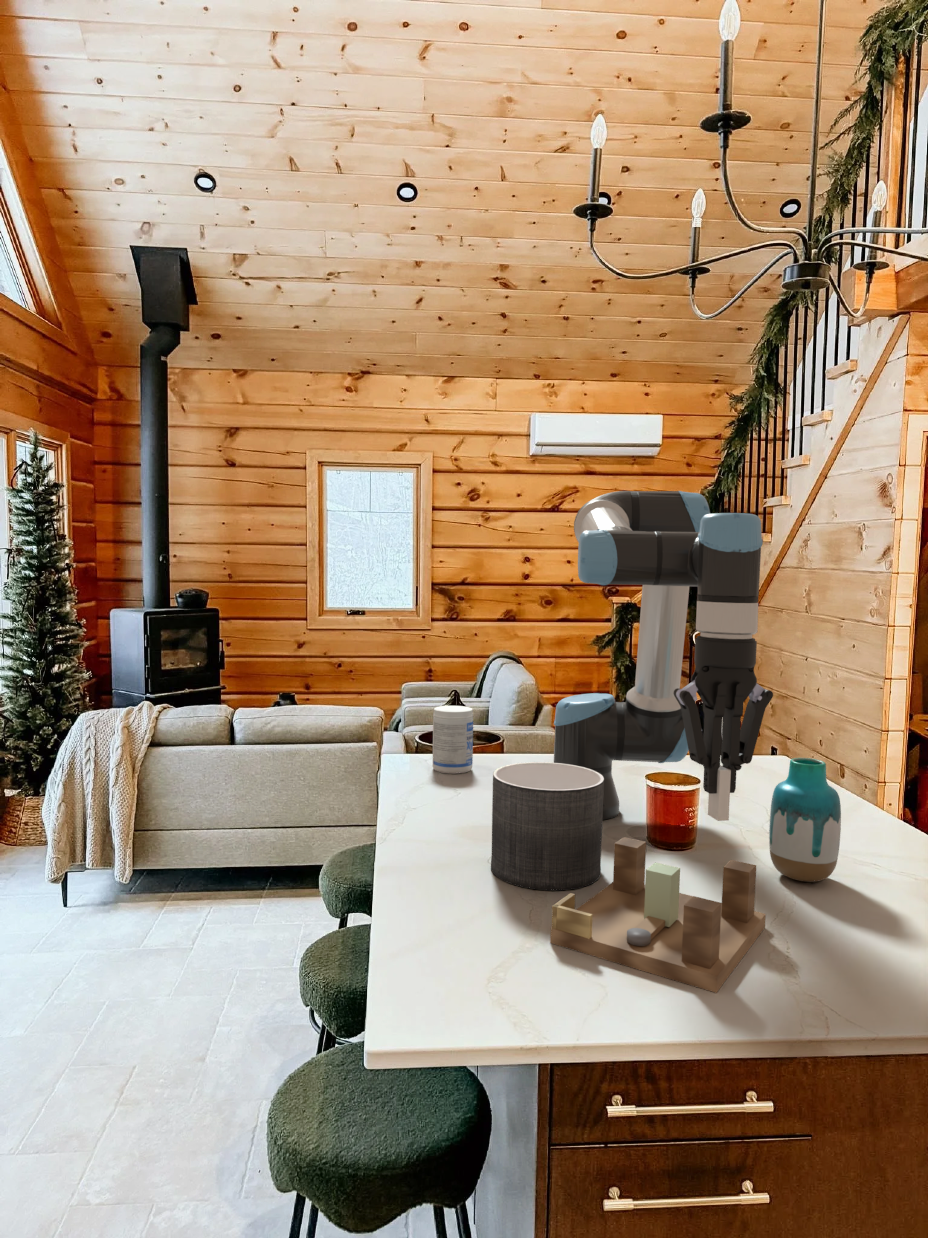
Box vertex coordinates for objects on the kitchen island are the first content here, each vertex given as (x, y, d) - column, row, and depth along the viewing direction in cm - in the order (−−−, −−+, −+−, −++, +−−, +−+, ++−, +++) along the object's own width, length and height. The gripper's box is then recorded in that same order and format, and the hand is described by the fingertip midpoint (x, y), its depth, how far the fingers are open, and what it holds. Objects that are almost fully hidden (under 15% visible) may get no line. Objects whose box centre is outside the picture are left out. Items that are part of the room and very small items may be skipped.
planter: (527, 899, 127) (530, 795, 126) (471, 860, 143) (473, 768, 142) (623, 881, 135) (627, 783, 134) (560, 846, 151) (563, 758, 150)
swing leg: (621, 941, 109) (622, 887, 108) (653, 912, 118) (655, 862, 118) (647, 949, 107) (649, 894, 106) (678, 918, 116) (680, 868, 116)
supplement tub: (476, 774, 200) (477, 711, 199) (436, 775, 198) (437, 712, 197) (467, 764, 209) (468, 704, 208) (429, 765, 207) (430, 705, 206)
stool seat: (550, 943, 113) (552, 876, 112) (617, 891, 131) (619, 833, 130) (716, 993, 101) (719, 918, 100) (764, 927, 119) (768, 864, 118)
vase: (834, 871, 141) (841, 757, 140) (840, 895, 131) (847, 772, 130) (766, 862, 145) (772, 751, 143) (767, 885, 135) (773, 765, 133)
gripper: (756, 633, 114) (748, 807, 115) (665, 632, 111) (658, 811, 113) (788, 638, 107) (780, 824, 108) (692, 637, 104) (684, 828, 105)
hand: (718, 817), depth 110 cm, fingers closed
